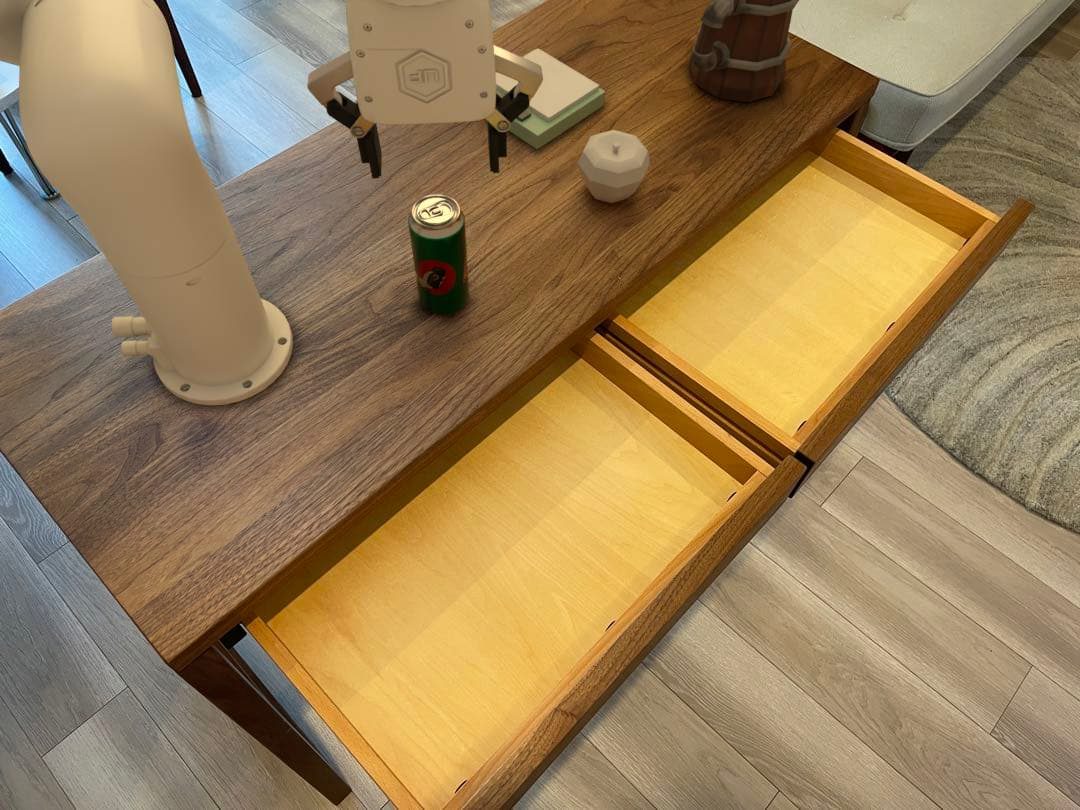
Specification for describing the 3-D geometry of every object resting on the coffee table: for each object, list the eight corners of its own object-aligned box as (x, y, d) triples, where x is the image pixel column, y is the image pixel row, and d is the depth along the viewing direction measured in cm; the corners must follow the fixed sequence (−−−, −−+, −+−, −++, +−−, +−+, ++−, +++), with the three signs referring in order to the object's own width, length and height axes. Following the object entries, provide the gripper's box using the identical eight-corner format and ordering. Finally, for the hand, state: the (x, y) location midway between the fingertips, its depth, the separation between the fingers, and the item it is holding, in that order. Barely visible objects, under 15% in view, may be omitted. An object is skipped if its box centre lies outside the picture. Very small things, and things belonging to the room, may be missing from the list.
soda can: (478, 307, 79) (474, 219, 69) (432, 325, 77) (421, 238, 67) (455, 274, 81) (448, 184, 71) (411, 291, 80) (397, 202, 69)
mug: (726, 37, 106) (756, -81, 93) (798, 78, 101) (840, -39, 89) (649, 83, 100) (669, -36, 87) (722, 130, 95) (755, 12, 83)
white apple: (605, 158, 92) (612, 110, 86) (658, 191, 89) (668, 144, 83) (560, 192, 88) (564, 144, 83) (614, 227, 86) (621, 180, 80)
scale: (537, 149, 92) (538, 131, 90) (467, 103, 96) (466, 84, 94) (603, 105, 97) (606, 87, 95) (534, 62, 101) (535, 44, 99)
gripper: (270, -12, 48) (327, 201, 62) (552, -19, 49) (544, 191, 63) (280, -75, 52) (332, 139, 66) (540, -80, 53) (535, 130, 67)
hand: (435, 164), depth 65 cm, fingers open, 9 cm apart
